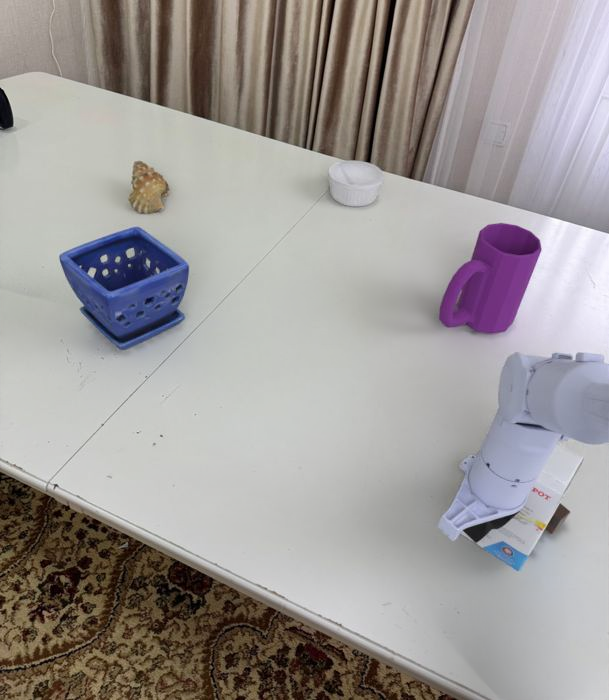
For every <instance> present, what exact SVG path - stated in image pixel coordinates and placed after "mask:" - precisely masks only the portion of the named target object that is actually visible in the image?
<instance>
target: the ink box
mask: <svg viewBox="0 0 609 700" xmlns="http://www.w3.org/2000/svg"><path fill="white" fill-rule="evenodd" d="M584 461H585V458H584V457H583V456H582V455H579V454H577V453H576V452H574V451H572V450H570V449H568V448H566V447H565V446H563V445H561V444H559V443H558V444H557V445H556V447H555V449H554V450H553V452H552V454H551V456H550V457H549V459H548V461H547V463H546V464H545V466H544V468H543V469H542V471H541V473H540V475H539V476H538V478H537V480H536V482H535V483H534V485H533V487H532V489H531V491H530V494H529V497H528V499H527V501H526V503H525V505H524V506H523V508H522V509H521V510H520V512H519V513H518V514H517V515H516V516H514V517H513V518H512V519H511V520H510V521H509V522H508V523H506V524H505V525H504V526H503V527H501V528H499V529H492V530H491V531H490V532H489V533H488V534H487V535H486V536H485V537H483V538H482V539H481V540H480V541H479V542H477V543H475V542H474V541H473V540H472V539H471V538H470V537H469V536H468V535H467V534H466V533H465V532H464V531H461V533H460V535H462V536H464V537H466V539H468V540H470V541H471V542H473V543H475V544H476V545H477V546H478V547H480V548H482V549H483V550H484V551H486V552H488V553H489V554H491V555H492V556H494V557H496V558H497V559H498V560H500V561H501V562H503V563H505V564H506V565H508V566H509V567H510V568H512V569H513V570H515V571H516V572H520V571H521V569H522V568H523V566H524V565H525V563H526V562H527V560H528V558H529V557H530V556H531V554H532V552H533V551H534V549H535V547H536V546H537V543H538V542H539V541H540V538H541V537H542V535H543V533H544V532H545V530H546V529H545V528H546V526H547V525H548V523H549V521H550V520H551V518H552V516H553V514H554V513H555V511H556V509H557V507H558V506H559V504H560V503H561V502H562V500H563V498H564V496H565V495H566V494H567V491H568V490H569V489H570V487H571V484H572V483H573V481H574V480H575V478H576V476H577V474H578V473H579V471H580V468H581V467H582V465H583V463H584Z"/></svg>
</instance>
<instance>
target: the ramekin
mask: <svg viewBox="0 0 609 700" xmlns="http://www.w3.org/2000/svg"><path fill="white" fill-rule="evenodd" d="M327 177H328V185H329V193H330V196H331V197H332V199H333V200H334V201H336V202H337V203H339V204H341V205H344V206H346V207H347V206H348V207H355V208H357V207H365V206H366V207H367V206H369V205H371V204H373V202H375V201H376V200H377V198H378V197H379V196H378V195H379V193H380V191H381V187H382V185H383V183H384V181H385V173H384V172H383V171H382V169H381V168H380V167H379V166H377V165H375V164H373V163H370V162H367V161H362V160H354V159H353V160H352V159H351V160H341V161H338V162H335V163H333V164H332V165H330V166H329V168H328V170H327Z"/></svg>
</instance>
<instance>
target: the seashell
mask: <svg viewBox="0 0 609 700" xmlns="http://www.w3.org/2000/svg"><path fill="white" fill-rule="evenodd" d="M132 169H133V170H132V175H131V182H130V183H131V185H132V189H133V190H132V191H131V193H130V194H129V195H128V197H127V198H128V201H129V203H130V206H131V207H132V208H133V210H134V211H136V212H137V213H139V214H143V215H147V214H149V215H150V214H154V213H157V212H158V211H159V212H161V211H164V210H165V206H164V204H163V202H162V199H164V198H167V197H168V195H170V189H171V188H170V186H169V184H168V182H167V180H165V178H164V176H163V175H162V174H161V173H160V172H158V171H155V168H154V167H151V166H149V165H148V164H147V163H145V162H143V161H142V160H137V161H134V162H133V166H132Z"/></svg>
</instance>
